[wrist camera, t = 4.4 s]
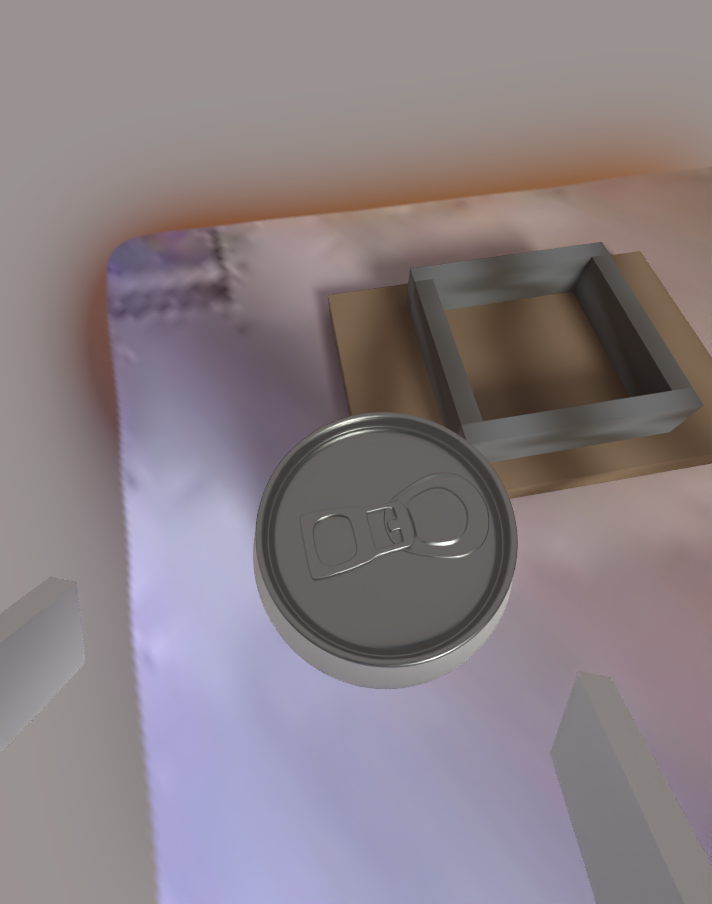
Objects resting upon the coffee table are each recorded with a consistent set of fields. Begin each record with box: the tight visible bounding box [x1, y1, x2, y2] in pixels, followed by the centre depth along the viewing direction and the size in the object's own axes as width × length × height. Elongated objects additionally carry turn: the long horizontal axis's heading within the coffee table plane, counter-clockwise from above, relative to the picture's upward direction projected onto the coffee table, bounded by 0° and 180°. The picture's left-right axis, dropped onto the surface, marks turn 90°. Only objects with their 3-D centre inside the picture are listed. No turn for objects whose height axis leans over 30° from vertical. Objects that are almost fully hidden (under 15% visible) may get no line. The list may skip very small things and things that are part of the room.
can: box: [253, 412, 518, 689], centre depth 15 cm, size 6×6×12 cm
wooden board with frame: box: [328, 242, 712, 499], centre depth 24 cm, size 20×14×4 cm
